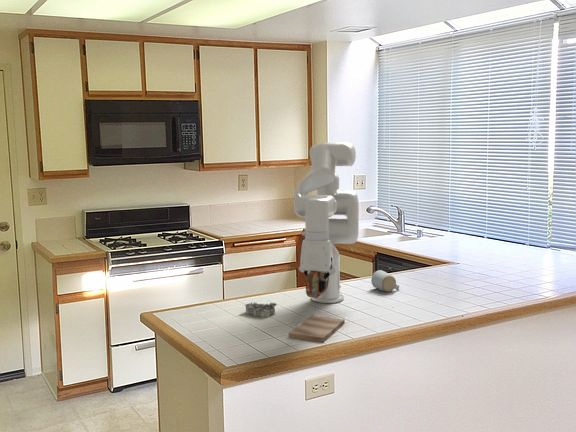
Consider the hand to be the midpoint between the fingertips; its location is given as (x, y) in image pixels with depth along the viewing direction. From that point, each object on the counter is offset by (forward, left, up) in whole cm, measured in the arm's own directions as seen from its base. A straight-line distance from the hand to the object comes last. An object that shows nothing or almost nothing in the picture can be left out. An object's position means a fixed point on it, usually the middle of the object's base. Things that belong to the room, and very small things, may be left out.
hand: (317, 290), depth 208 cm
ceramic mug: (-58, +7, -14) cm, 60 cm away
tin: (0, 0, -1) cm, 2 cm away
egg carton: (-10, -26, -14) cm, 31 cm away
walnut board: (0, 0, -14) cm, 14 cm away
